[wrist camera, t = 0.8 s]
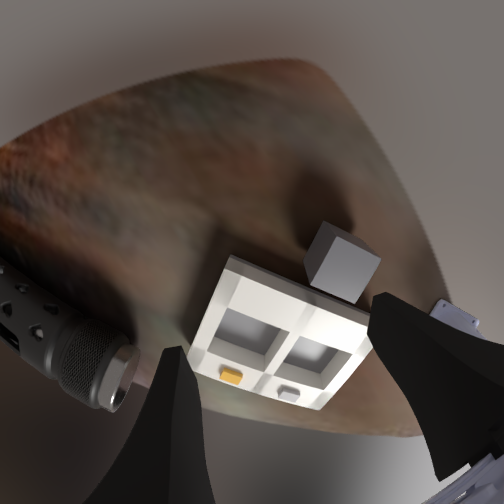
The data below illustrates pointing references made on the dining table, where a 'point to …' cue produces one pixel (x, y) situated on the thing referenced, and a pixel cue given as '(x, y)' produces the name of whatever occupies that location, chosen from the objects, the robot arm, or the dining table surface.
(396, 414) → the dining table surface
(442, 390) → the robot arm
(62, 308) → the muzzle brake
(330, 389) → the double socket
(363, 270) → the plug
